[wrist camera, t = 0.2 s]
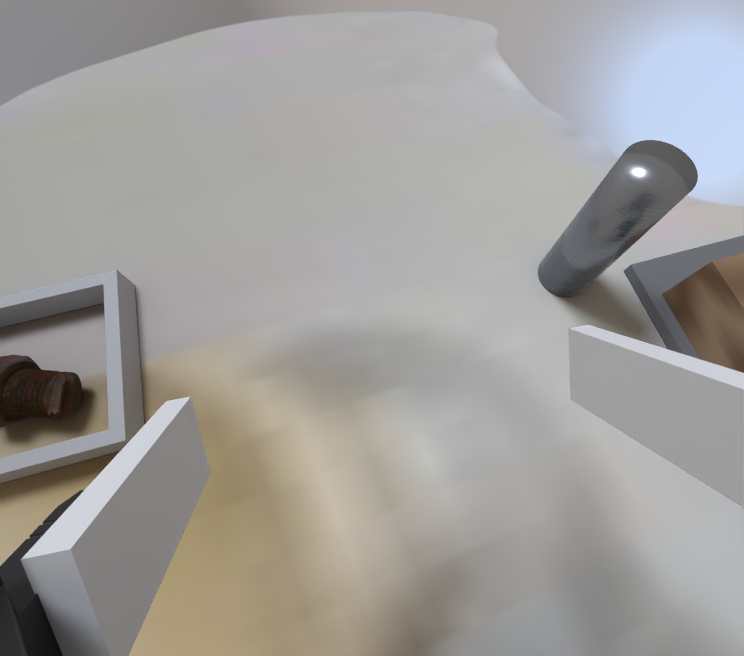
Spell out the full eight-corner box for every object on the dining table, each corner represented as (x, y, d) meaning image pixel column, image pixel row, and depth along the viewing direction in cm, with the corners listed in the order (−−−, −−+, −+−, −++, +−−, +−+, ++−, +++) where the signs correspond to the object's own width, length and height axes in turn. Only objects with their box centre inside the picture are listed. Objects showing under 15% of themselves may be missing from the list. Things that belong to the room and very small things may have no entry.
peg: (596, 290, 33) (712, 189, 21) (550, 302, 32) (644, 205, 21) (574, 249, 34) (672, 134, 23) (530, 260, 34) (608, 148, 22)
